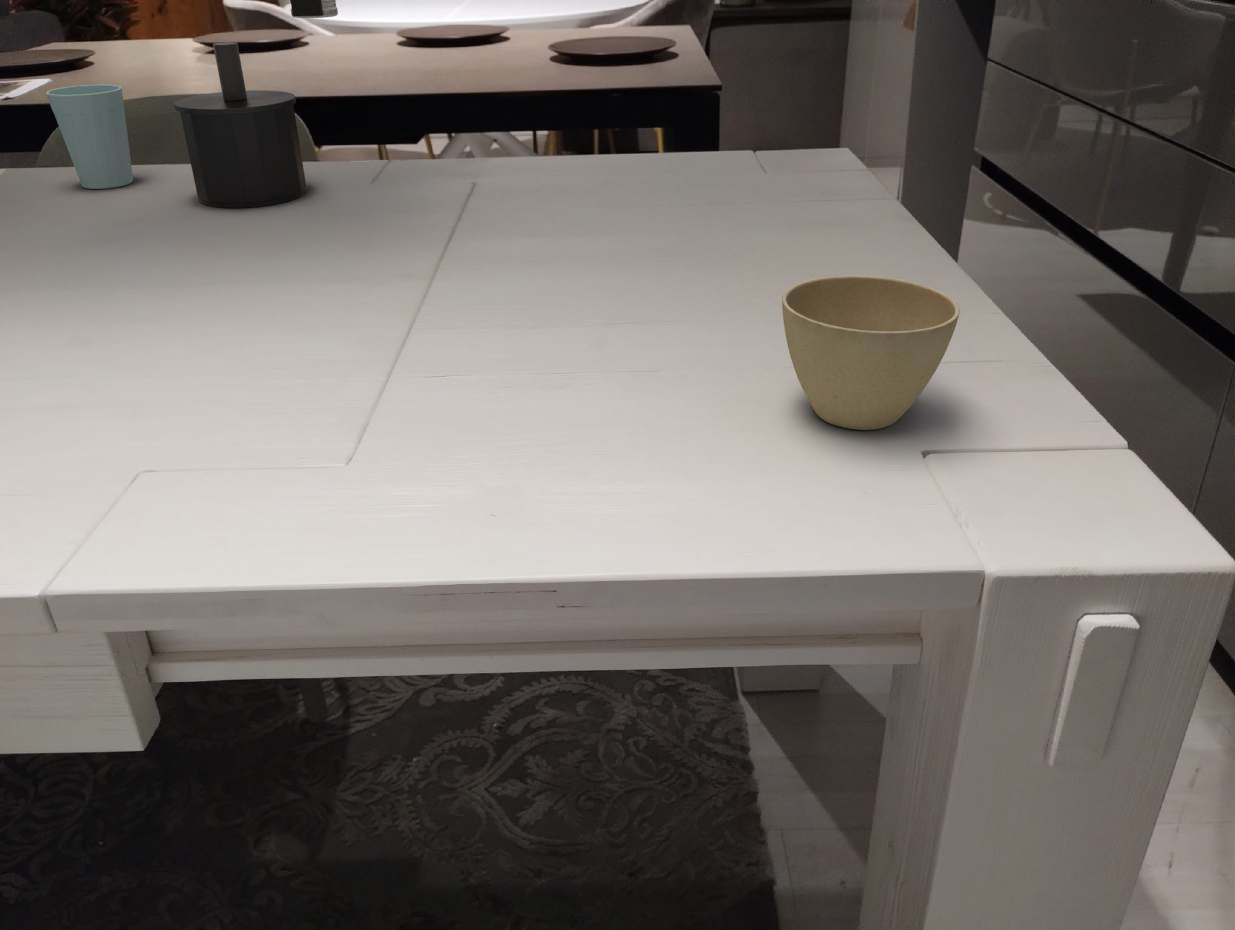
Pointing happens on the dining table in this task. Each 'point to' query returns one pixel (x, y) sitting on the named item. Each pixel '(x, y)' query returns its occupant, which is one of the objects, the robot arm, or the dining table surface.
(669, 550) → the dining table surface
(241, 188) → the pot
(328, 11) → the chess piece
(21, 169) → the dining table surface
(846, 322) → the flower pot
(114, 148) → the cup
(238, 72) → the pot lid
